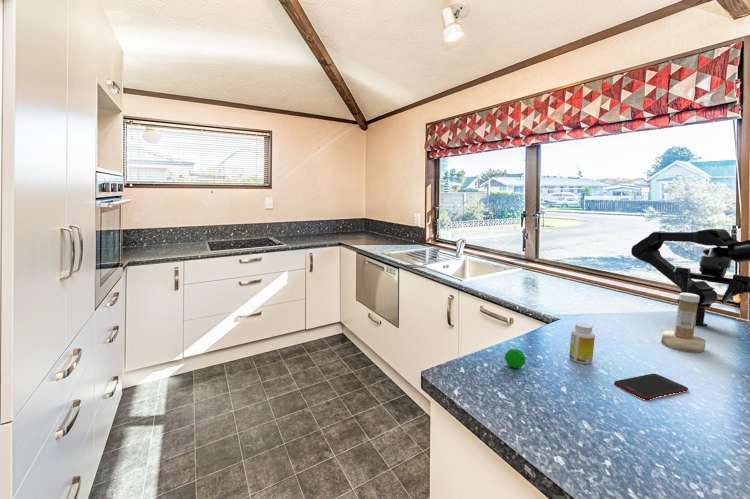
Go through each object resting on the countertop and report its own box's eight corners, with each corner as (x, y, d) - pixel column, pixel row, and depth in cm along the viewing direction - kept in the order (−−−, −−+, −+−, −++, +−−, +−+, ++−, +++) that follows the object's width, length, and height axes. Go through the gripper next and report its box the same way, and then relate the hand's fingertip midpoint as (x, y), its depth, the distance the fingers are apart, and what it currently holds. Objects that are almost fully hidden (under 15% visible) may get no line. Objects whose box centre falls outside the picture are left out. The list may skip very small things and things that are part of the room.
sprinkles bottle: (695, 337, 106) (702, 294, 104) (690, 340, 103) (696, 297, 101) (676, 332, 110) (682, 291, 108) (671, 335, 107) (677, 293, 105)
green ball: (511, 372, 89) (512, 354, 88) (500, 363, 94) (502, 346, 93) (528, 370, 90) (530, 353, 89) (517, 362, 95) (518, 345, 94)
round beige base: (654, 338, 112) (655, 329, 112) (689, 341, 111) (690, 332, 110) (674, 351, 103) (675, 341, 102) (713, 354, 101) (714, 344, 100)
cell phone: (689, 392, 81) (690, 388, 81) (645, 402, 77) (645, 398, 77) (654, 376, 89) (655, 372, 88) (612, 385, 84) (612, 381, 84)
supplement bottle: (596, 362, 95) (600, 326, 94) (583, 366, 93) (587, 329, 91) (577, 354, 100) (580, 320, 99) (564, 357, 98) (567, 323, 96)
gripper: (678, 244, 122) (663, 278, 117) (756, 251, 107) (742, 290, 102) (682, 264, 127) (668, 297, 123) (757, 273, 112) (744, 312, 108)
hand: (702, 299), depth 114 cm, fingers open, 9 cm apart
